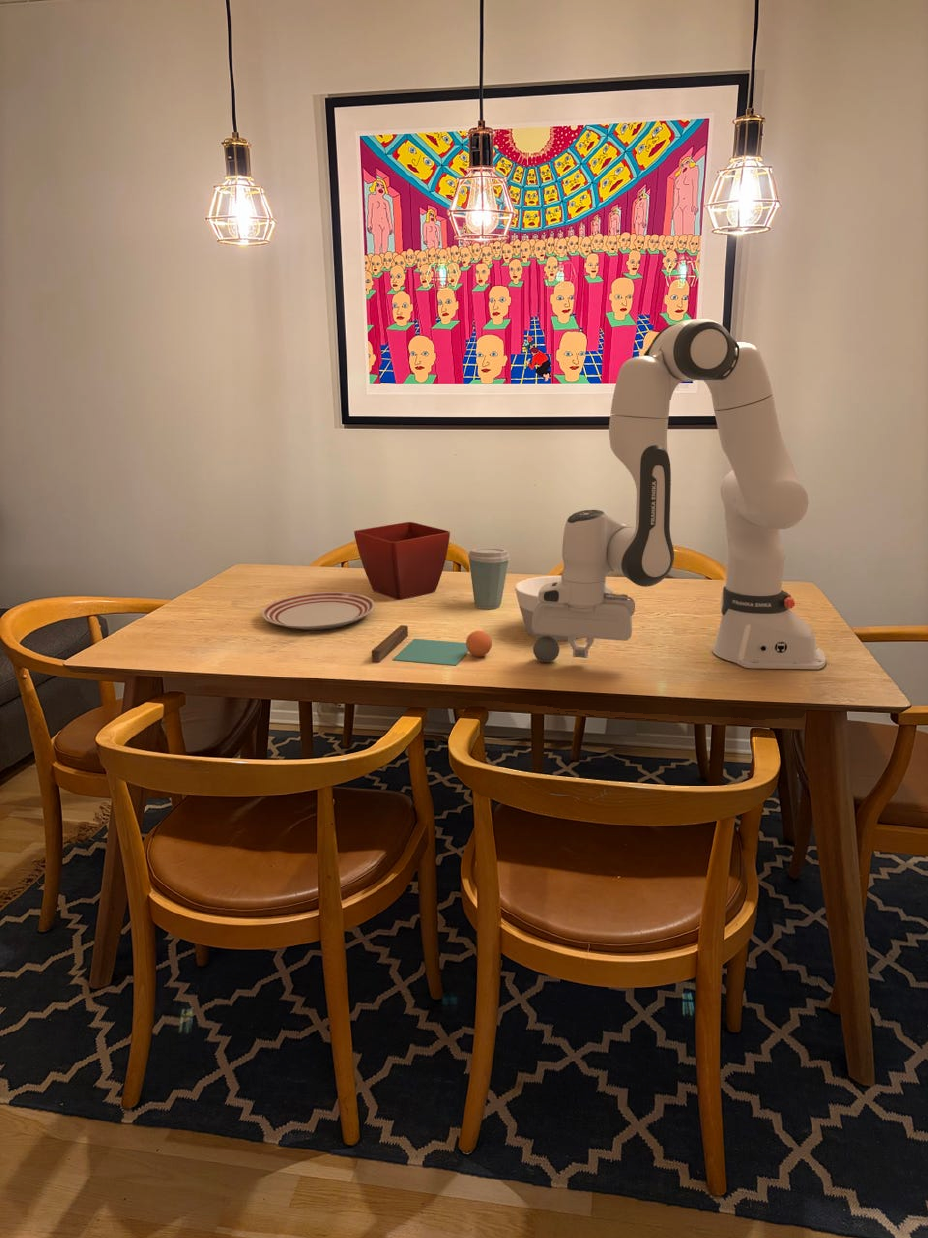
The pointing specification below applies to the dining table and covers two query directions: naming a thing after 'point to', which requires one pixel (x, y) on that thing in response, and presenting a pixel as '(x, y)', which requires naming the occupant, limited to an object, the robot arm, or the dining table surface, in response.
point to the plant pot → (403, 558)
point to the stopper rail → (389, 643)
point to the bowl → (533, 601)
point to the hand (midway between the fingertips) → (580, 656)
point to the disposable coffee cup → (488, 575)
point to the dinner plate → (318, 610)
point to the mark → (433, 652)
